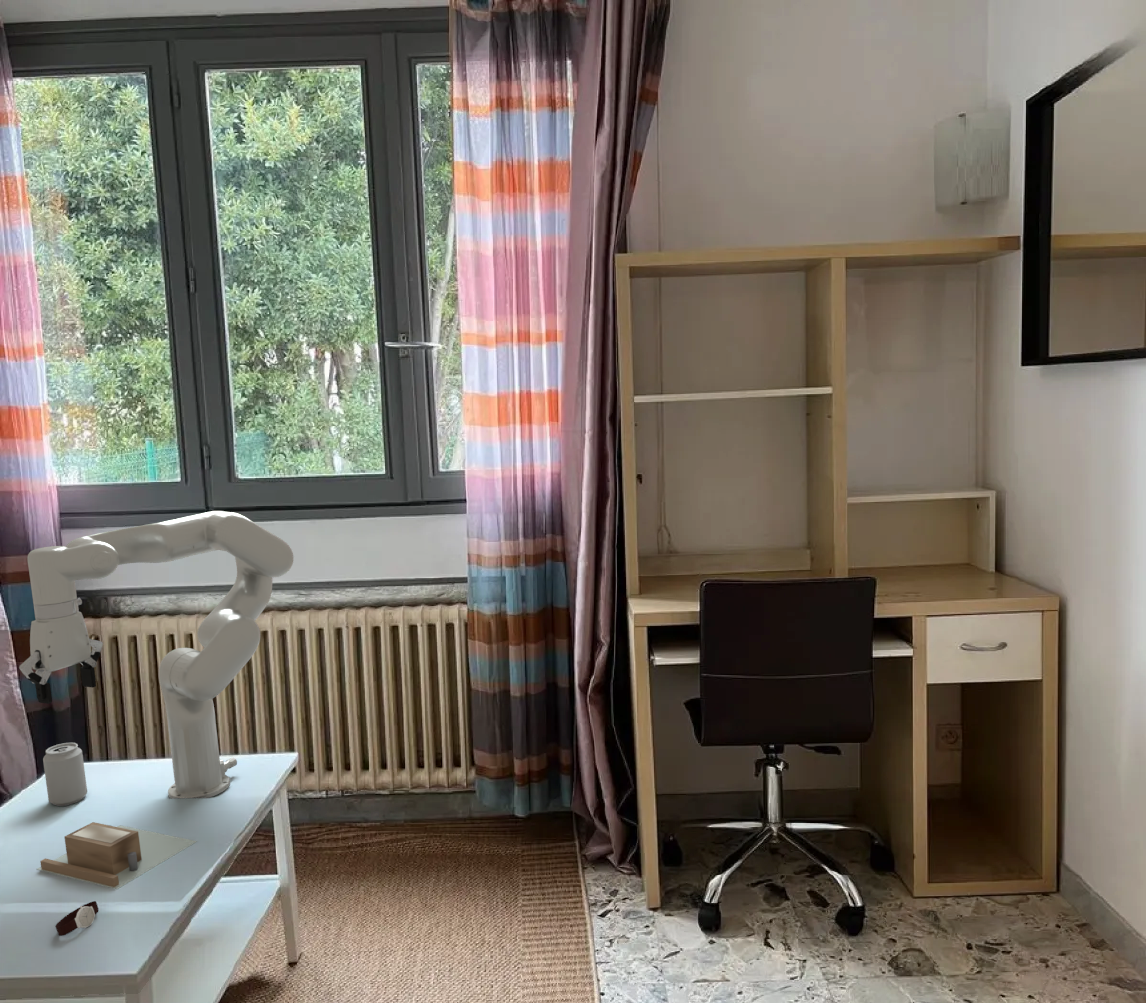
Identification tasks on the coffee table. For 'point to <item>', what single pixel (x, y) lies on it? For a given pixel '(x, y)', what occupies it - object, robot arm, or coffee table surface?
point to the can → (65, 774)
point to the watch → (77, 918)
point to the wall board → (152, 854)
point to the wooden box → (102, 847)
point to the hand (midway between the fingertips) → (67, 694)
